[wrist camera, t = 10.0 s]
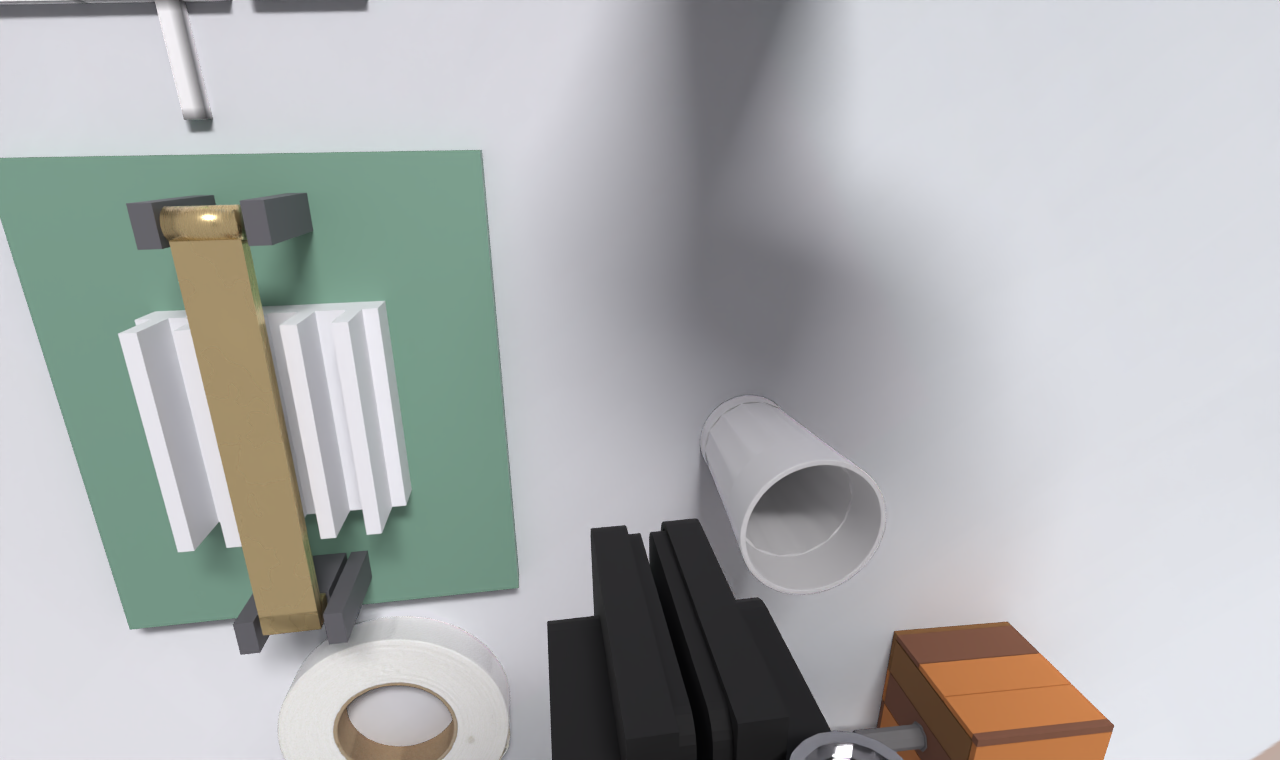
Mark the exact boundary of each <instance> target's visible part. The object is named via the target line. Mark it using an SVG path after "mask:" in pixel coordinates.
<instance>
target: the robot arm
mask: <svg viewBox="0 0 1280 760" xmlns="http://www.w3.org/2000/svg"><path fill="white" fill-rule="evenodd" d="M591 554H592V576H593V598H594V616H590V617H581V618H573V619H564V620H555V621H548V622H547V627H548V657H549V685H550V713H551V741H552V760H904V759H903V758H902V757H901V756H899V755H898V754H897V753H896V752H895V751H893V750H892V749H890V748H889V747H887V746H885V745H884V744H882V743H881V742H879V741H877V740H874V739H872V738H869V737H866V736H863V735H861V734H858V733H851V732H843V731H832V732H831V730H830V728H829V726H828V724H827V722H826V720H825V719H824V717H823V715H822V713H821V711H820V709H819V707H818V705H817V703H816V701H815V699H814V697H813V695H812V694H811V692H810V690H809V688H808V686H807V684H806V682H805V680H804V678H803V676H802V674H801V672H800V671H799V669H798V667H797V665H796V663H795V661H794V659H793V657H792V655H791V653H790V651H789V649H788V647H787V646H786V644H785V642H784V640H783V638H782V636H781V634H780V632H779V630H778V628H777V626H776V624H775V623H774V621H773V619H772V617H771V615H770V613H769V611H768V609H767V607H766V606H765V604H764V603H763V601H762V600H761V599H759V598H758V597H757V598H748V599H740V600H735V598H734V596H733V594H732V592H731V590H730V587H729V585H728V583H727V581H726V579H725V576H724V574H723V572H722V570H721V568H720V566H719V563H718V561H717V559H716V557H715V555H714V552H713V550H712V548H711V546H710V544H709V542H708V539H707V537H706V535H705V533H704V531H703V529H702V526H701V524H700V522H699V520H698V519H686V520H675V521H665V522H662V525H661V531H658V532H650V536H649V559H650V565H649V561H648V558H647V554H646V551H645V548H644V544H643V541H642V537H641V534H640V533H637V534H628V531H627V528H626V526H625V525H623V526H612V527H602V528H591Z"/></svg>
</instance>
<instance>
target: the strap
mask: <svg viewBox="0 0 1280 760" xmlns="http://www.w3.org/2000/svg"><path fill="white" fill-rule="evenodd" d="M160 227H161V230H162V233H163V235H164V237H165V238H166V239H167V240H168V241H169V244H170V248H171V252H172V256H173V261H174V265H175V269H176V273H177V277H178V282H179V286H180V290H181V294H182V298H183V302H184V307H185V311H186V315H187V319H188V323H189V328H190V332H191V336H192V340H193V344H194V348H195V353H196V357H197V361H198V365H199V369H200V374H201V378H202V382H203V386H204V390H205V395H206V399H207V403H208V407H209V411H210V415H211V420H212V424H213V428H214V432H215V436H216V441H217V445H218V449H219V453H220V457H221V461H222V466H223V470H224V474H225V478H226V482H227V487H228V491H229V495H230V499H231V503H232V507H233V512H234V516H235V520H236V524H237V528H238V533H239V537H240V541H241V545H242V549H243V554H244V558H245V562H246V566H247V570H248V574H249V579H250V583H251V587H252V591H253V595H254V600H255V604H256V608H257V612H258V616H259V620H260V625H261V629H262V633H263V636H264V635H273V634H282V633H291V632H300V631H309V630H318V629H321V628H322V625H323V623H324V617H323V613H324V611H325V609H326V607H327V605H328V603H327V598H326V593H322V594H320V593H319V588H318V583H317V578H316V573H315V568H314V563H313V558H312V553H311V548H310V543H309V538H308V533H307V528H306V523H305V518H304V513H303V508H302V503H301V498H300V493H299V488H298V483H297V478H296V473H295V468H294V463H293V458H292V453H291V448H290V443H289V439H288V434H287V429H286V424H285V419H284V414H283V409H282V404H281V399H280V394H279V389H278V384H277V379H276V374H275V369H274V364H273V359H272V354H271V349H270V344H269V339H268V334H267V329H266V324H265V319H264V314H263V309H262V304H261V299H260V294H259V289H258V285H257V280H256V275H255V270H254V265H253V260H252V255H251V250H250V246H248V241H247V236H246V231H245V226H244V221H243V216H242V211H241V206H240V205H204V206H166V207H163V208H162V209H161V212H160Z"/></svg>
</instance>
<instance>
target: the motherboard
mask: <svg viewBox="0 0 1280 760" xmlns="http://www.w3.org/2000/svg"><path fill="white" fill-rule="evenodd" d="M204 205H240V206H241V211H242V216H243V221H244V226H245V231H246V236H247V241H248V246H250V250H251V255H252V260H253V265H254V270H255V275H256V280H257V285H258V289H259V294H260V299H261V304H262V309H263V314H264V319H265V324H266V329H267V334H268V339H269V344H270V349H271V354H272V359H273V364H274V369H275V374H276V379H277V384H278V389H279V394H280V399H281V404H282V409H283V414H284V419H285V424H286V429H287V434H288V439H289V443H290V448H291V453H292V458H293V463H294V468H295V473H296V478H297V483H298V488H299V493H300V498H301V503H302V508H303V513H304V518H305V523H306V528H307V533H308V538H309V543H310V548H311V553H312V558H313V563H314V568H315V573H316V578H317V583H318V588H319V593H320V594H322V593H326V598H327V603H328V605H327V607H326V609H325V611H324V613H323V617H324V622H325V627H326V632H327V637H328V642H329V645H330V644H339V643H347V642H348V641H349V638H350V635H351V633H352V630H353V627H354V625H355V622H356V619H357V617H358V614H359V611H360V609H361V606H362V605H364V604H374V603H383V602H392V601H402V600H411V599H420V598H430V597H439V596H448V595H458V594H467V593H476V592H486V591H495V590H505V589H514V588H519V569H518V558H517V546H516V535H515V524H514V512H513V501H512V489H511V478H510V466H509V455H508V444H507V432H506V421H505V409H504V398H503V386H502V375H501V364H500V352H499V341H498V329H497V318H496V306H495V295H494V284H493V272H492V261H491V249H490V238H489V226H488V215H487V204H486V192H485V181H484V169H483V158H482V150H452V151H391V152H331V153H270V154H210V155H149V156H89V157H28V158H0V218H1V222H2V225H3V228H4V231H5V234H6V238H7V241H8V244H9V247H10V250H11V253H12V257H13V260H14V263H15V266H16V269H17V272H18V276H19V279H20V282H21V285H22V288H23V292H24V295H25V298H26V301H27V304H28V307H29V311H30V314H31V317H32V320H33V323H34V326H35V330H36V333H37V336H38V339H39V342H40V345H41V349H42V352H43V355H44V358H45V361H46V365H47V368H48V371H49V374H50V377H51V380H52V384H53V387H54V390H55V393H56V396H57V399H58V403H59V406H60V409H61V412H62V415H63V419H64V422H65V425H66V428H67V431H68V434H69V438H70V441H71V444H72V447H73V450H74V453H75V457H76V460H77V463H78V466H79V469H80V473H81V476H82V479H83V482H84V485H85V488H86V492H87V495H88V498H89V501H90V504H91V507H92V511H93V514H94V517H95V520H96V523H97V526H98V530H99V533H100V536H101V539H102V542H103V546H104V549H105V552H106V555H107V558H108V561H109V565H110V568H111V571H112V574H113V577H114V580H115V584H116V587H117V590H118V593H119V596H120V600H121V603H122V606H123V609H124V612H125V615H126V619H127V622H128V625H129V628H130V629H140V628H149V627H158V626H168V625H177V624H186V623H196V622H205V621H214V620H224V619H233V618H237V619H236V620H235V622H234V624H233V626H234V630H235V634H236V638H237V642H238V646H239V650H240V654H241V655H242V654H251V653H260V652H261V650H262V648H263V646H264V644H265V643H266V641H267V639H268V637H269V635H264V636H263V633H262V629H261V625H260V620H259V616H258V612H257V608H256V604H255V600H254V595H253V591H252V587H251V583H250V579H249V574H248V570H247V566H246V562H245V558H244V554H243V549H242V545H241V541H240V537H239V533H238V528H237V524H236V520H235V516H234V512H233V507H232V503H231V499H230V495H229V491H228V487H227V482H226V478H225V474H224V470H223V466H222V461H221V457H220V453H219V449H218V445H217V441H216V436H215V432H214V428H213V424H212V420H211V415H210V411H209V407H208V403H207V399H206V395H205V390H204V386H203V382H202V378H201V374H200V369H199V365H198V361H197V357H196V353H195V348H194V344H193V340H192V336H191V332H190V328H189V323H188V319H187V315H186V311H185V307H184V302H183V298H182V294H181V290H180V286H179V282H178V277H177V273H176V269H175V265H174V261H173V256H172V252H171V248H170V244H169V241H168V240H167V239H166V238H165V237H164V235H163V233H162V230H161V227H160V212H161V209H162V208H163V207H166V206H204Z"/></svg>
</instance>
